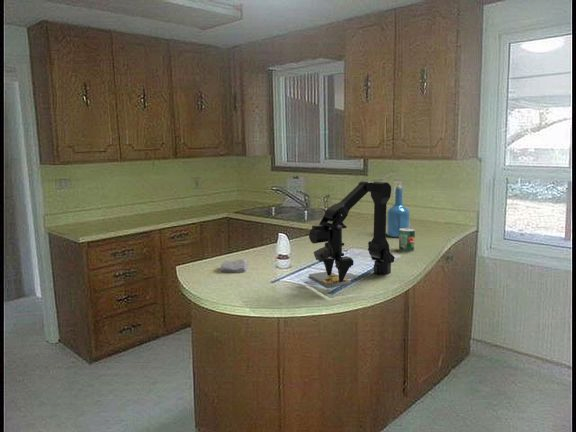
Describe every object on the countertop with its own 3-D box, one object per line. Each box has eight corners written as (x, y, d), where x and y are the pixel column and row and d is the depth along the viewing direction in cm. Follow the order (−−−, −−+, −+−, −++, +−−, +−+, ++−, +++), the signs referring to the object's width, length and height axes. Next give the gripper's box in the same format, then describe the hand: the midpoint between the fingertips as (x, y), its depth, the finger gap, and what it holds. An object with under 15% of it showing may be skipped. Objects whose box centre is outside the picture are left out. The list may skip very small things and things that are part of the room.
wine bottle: (412, 237, 274) (413, 186, 269) (389, 238, 274) (389, 186, 269) (406, 233, 287) (407, 184, 283) (384, 233, 288) (385, 184, 283)
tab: (350, 275, 201) (350, 272, 201) (359, 279, 195) (359, 277, 194) (337, 277, 198) (337, 274, 198) (346, 281, 192) (346, 279, 192)
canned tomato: (414, 252, 240) (415, 231, 238) (399, 251, 241) (399, 230, 239) (414, 248, 247) (414, 228, 245) (398, 248, 249) (399, 227, 247)
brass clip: (336, 283, 190) (336, 274, 189) (341, 286, 186) (341, 276, 185) (327, 285, 188) (327, 275, 188) (332, 287, 185) (332, 278, 184)
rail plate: (329, 275, 201) (329, 270, 200) (350, 286, 186) (350, 281, 185) (308, 278, 197) (308, 273, 196) (328, 290, 181) (328, 284, 181)
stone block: (247, 276, 209) (248, 266, 218) (246, 266, 207) (247, 257, 217) (220, 278, 209) (222, 267, 218) (219, 268, 207) (221, 258, 216)
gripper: (305, 238, 189) (306, 275, 192) (328, 247, 173) (328, 288, 175) (329, 235, 194) (330, 271, 196) (354, 243, 177) (354, 283, 180)
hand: (334, 278), depth 187 cm, fingers open, 9 cm apart
